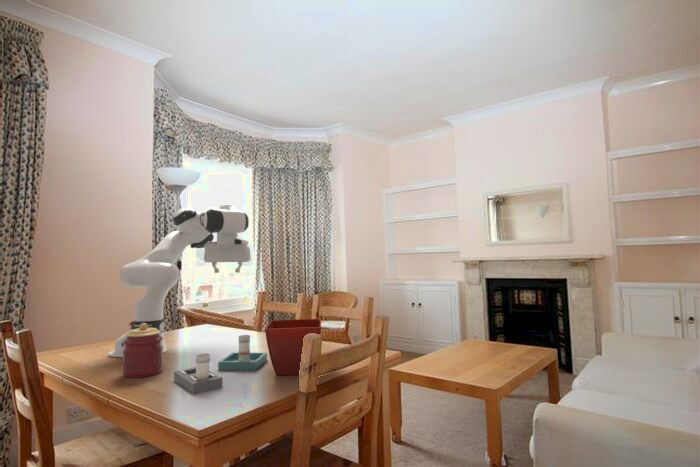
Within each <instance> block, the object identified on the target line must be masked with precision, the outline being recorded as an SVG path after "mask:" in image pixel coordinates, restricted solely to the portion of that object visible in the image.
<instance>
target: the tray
mask: <svg viewBox="0 0 700 467" xmlns="http://www.w3.org/2000/svg"><path fill="white" fill-rule="evenodd" d="M238 358H239V352H231V353H229V354H227V355H226V356H225V357H223V358H222V359H220V360H219V361H218V362H217V364H218V365H217V371H242V372H243V371H254V372H256V371H258V370H259V368H261V366H263V364H265V363H266V362H267V361H268V352H250V361H238Z"/></svg>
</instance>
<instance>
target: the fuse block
mask: <svg viewBox="0 0 700 467" xmlns="http://www.w3.org/2000/svg"><path fill="white" fill-rule="evenodd" d="M173 381H174V382H176V383H177V384H178V385H180V386H181V387H183V388H184V389H185V390H187V392H189V393H191V394H192V395H195V394H200V393H204V392H209V391H213V390H216V389H217V390H218V389H221V388H223V377H222V376H220V375H218V374H217V373H214V372H212V371H211V370H209V379H205V380H200V381H197V379H196V366H195V367H190V368H183V369H179V370H174V371H173Z"/></svg>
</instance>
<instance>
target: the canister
mask: <svg viewBox="0 0 700 467" xmlns="http://www.w3.org/2000/svg"><path fill="white" fill-rule="evenodd" d="M129 330H130V329H129ZM127 332H128V331H127ZM125 333H126V332H125ZM125 333H124V334H125ZM159 333H161V331H160V330H158V329H156V328H148V325H147V324H146V323H142V324H140V327H139V328H138V329H133V330H130V332H128V333H126V334H125V335H126V336H127V338H126V339H125V340H123V344H124V350H123V351H122V352H123V357H122V367H121V373H122V376H123V377H124V378H129V379H134V378H135V379H136V378H145V377H151V376H154V375H158V374H160V373H161V372H162V371H163V366H164V365H163V364H164V363H163V353H162V351H163V346H162V340H163V337H162V336H160V334H159Z"/></svg>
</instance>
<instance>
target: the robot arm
mask: <svg viewBox="0 0 700 467" xmlns="http://www.w3.org/2000/svg"><path fill="white" fill-rule="evenodd" d="M249 219H250V218H249V216H248V214H247V213H246V212H245V211H241V210H240V209H238V208H237V206H236V205H235V204H229V203H227V204H222V205H220V206H219V207H217V206H212V207H211V206H210V207H207V208H205V209H204V210H202V211H200V212H198V209H196V208H194V209H193V208H190V207H184V208H181V209H179V210H177V212H175V213H174V215H173V217H172V222H173V224H174V225H175V226H176V227H177V228H178V229H179V230H173V231H171V232H169V233H168V234H167V235H165V237H163V238H162V239H161V241H160V242H158V244H157V245H156V246H155V247H154V248H153V249H152V250H151V251H150V252H148V253H147V254H145V255H144V256H142V257H141V258H139V259H136V261H133V262H129V263H127V264H124V266H122V267H121V269H120V271H119V281H120V282H121V284H122V285H124V286H126V287H130V288H137V289H139V288H141V289H143V288H146V292H145V294H144V295H143V296H141V297H139V298H138V299H137V300H136V302H135V304H134V320H132V321H131V322H129V323H127V324H128V325H127V326H128V327H130V329H129V330H128V331H126V332H125V333H124V334H122V335H121V336H120V337H118V339H117V340H116V341H115V344H114V349H113V350H111V351H109V353H108V354H107V356H108V357H114V358H123V352H122V351H123V350H124V344H123V340H125V339H126V338H127V336H126V335H125V334H126V333H128V332H130V330H133V329H138V328H139V327H140V324H142V323H146V324H147V325H148V328H156V329H158V330H160V331H161V333H159V334H160V336H162V337H163V340H162V346H163V351H162V354H164V353H166V352H167V347H166V343H165V338H164V337H165V336H164V331H165V318H164V307H165V300H166V297H167V295H168V293H169V291H170V289H172V287H174V286H175V285H176V284H177V283H178V281H179V279H180V275H181V274H180V269H179V267H178V266H177V265H176V262H178V259H180V257H181V255H182V254H183V252H184V250H185V249H187V247H189V246H190V248H191V249H194V248H195V249H204V252H203V261H204V262H205V263H211V266H212V268H213V269H214V271H213V272H214V273H215V274H218V273H220V268H218V267H217V264H218V263H237V265H238V266H237V267H236V268H235V273H238V274H239V273H241V268H242V266H243V263H249V262H250V261H251V259H252V258H251V257H252V256H251V248H250V247H249V241H248V240H247V239H244V238H241V237H238V234H240V233H244V232H246V230H247V229H248V228H249V222H250V220H249ZM214 233H216V241H213V240H214V239H215V238H214V237H215V236H214Z"/></svg>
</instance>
